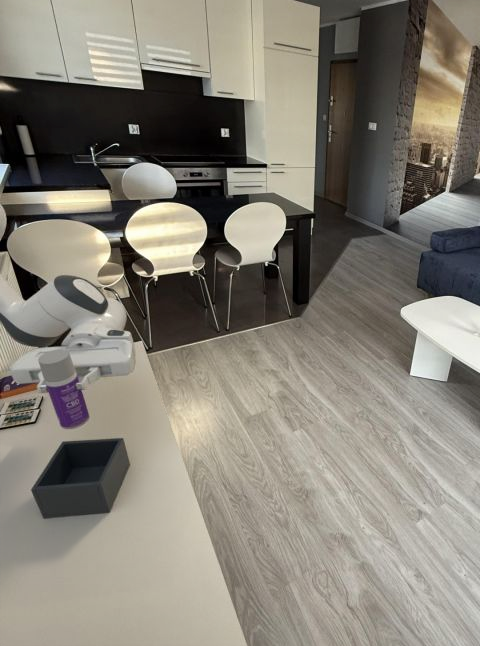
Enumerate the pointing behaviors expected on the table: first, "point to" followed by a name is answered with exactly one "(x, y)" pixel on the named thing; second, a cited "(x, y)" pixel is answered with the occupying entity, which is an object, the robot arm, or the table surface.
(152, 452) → the table surface
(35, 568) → the table surface
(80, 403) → the container
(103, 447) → the bin
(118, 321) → the robot arm
